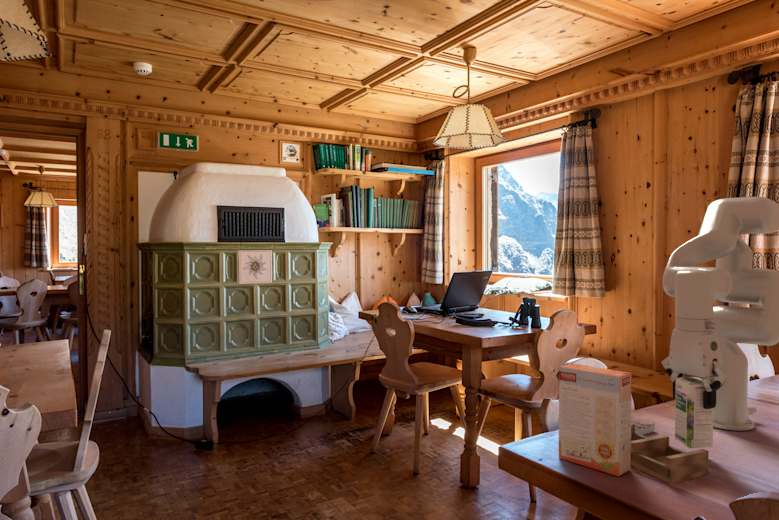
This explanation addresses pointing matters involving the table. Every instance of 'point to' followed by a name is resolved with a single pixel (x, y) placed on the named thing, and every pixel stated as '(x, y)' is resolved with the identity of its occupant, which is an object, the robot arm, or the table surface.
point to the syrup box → (692, 414)
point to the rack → (666, 458)
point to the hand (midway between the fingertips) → (693, 402)
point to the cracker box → (595, 417)
